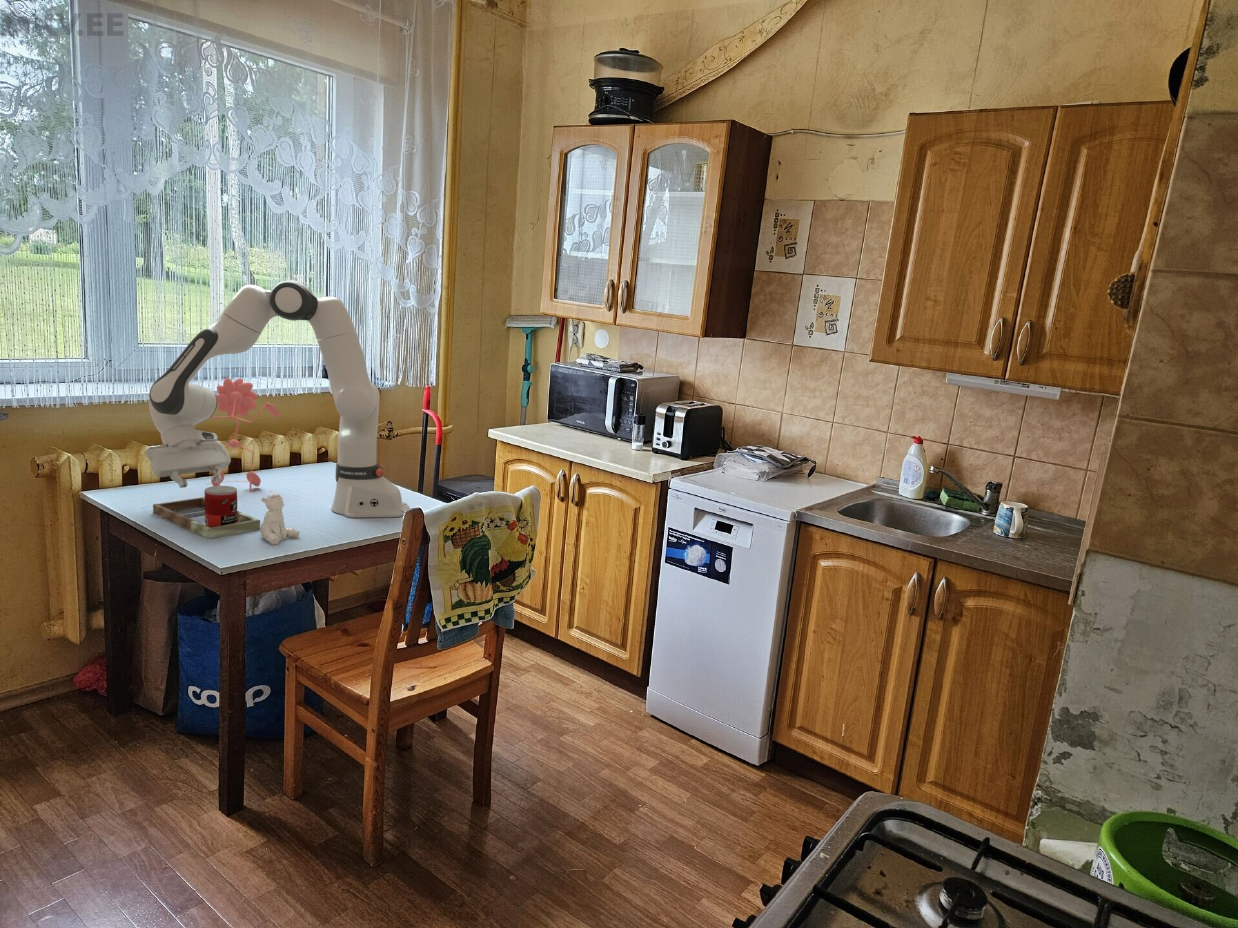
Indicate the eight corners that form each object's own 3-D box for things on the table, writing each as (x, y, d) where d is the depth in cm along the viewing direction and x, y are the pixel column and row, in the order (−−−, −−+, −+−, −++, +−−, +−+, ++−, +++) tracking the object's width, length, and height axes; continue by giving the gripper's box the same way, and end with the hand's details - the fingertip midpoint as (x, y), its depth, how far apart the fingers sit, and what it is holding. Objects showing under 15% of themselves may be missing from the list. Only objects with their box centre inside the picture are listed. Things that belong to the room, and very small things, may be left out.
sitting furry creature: (273, 546, 208) (273, 500, 206) (248, 539, 211) (247, 495, 209) (301, 537, 217) (301, 493, 214) (276, 531, 220) (276, 488, 217)
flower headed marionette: (279, 492, 257) (278, 382, 251) (188, 492, 249) (185, 378, 243) (282, 482, 272) (282, 377, 265) (196, 482, 263) (194, 373, 257)
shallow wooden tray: (153, 513, 226) (152, 504, 226) (203, 505, 238) (203, 497, 237) (208, 538, 209) (208, 529, 209) (260, 529, 221) (260, 520, 220)
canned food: (225, 534, 214) (225, 494, 212) (198, 530, 215) (197, 490, 213) (244, 527, 221) (243, 487, 219) (217, 523, 222) (216, 484, 220)
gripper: (146, 440, 217) (166, 482, 214) (221, 433, 233) (241, 472, 230) (139, 453, 221) (158, 495, 217) (214, 445, 237) (232, 485, 233)
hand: (201, 483), depth 224 cm, fingers open, 8 cm apart
